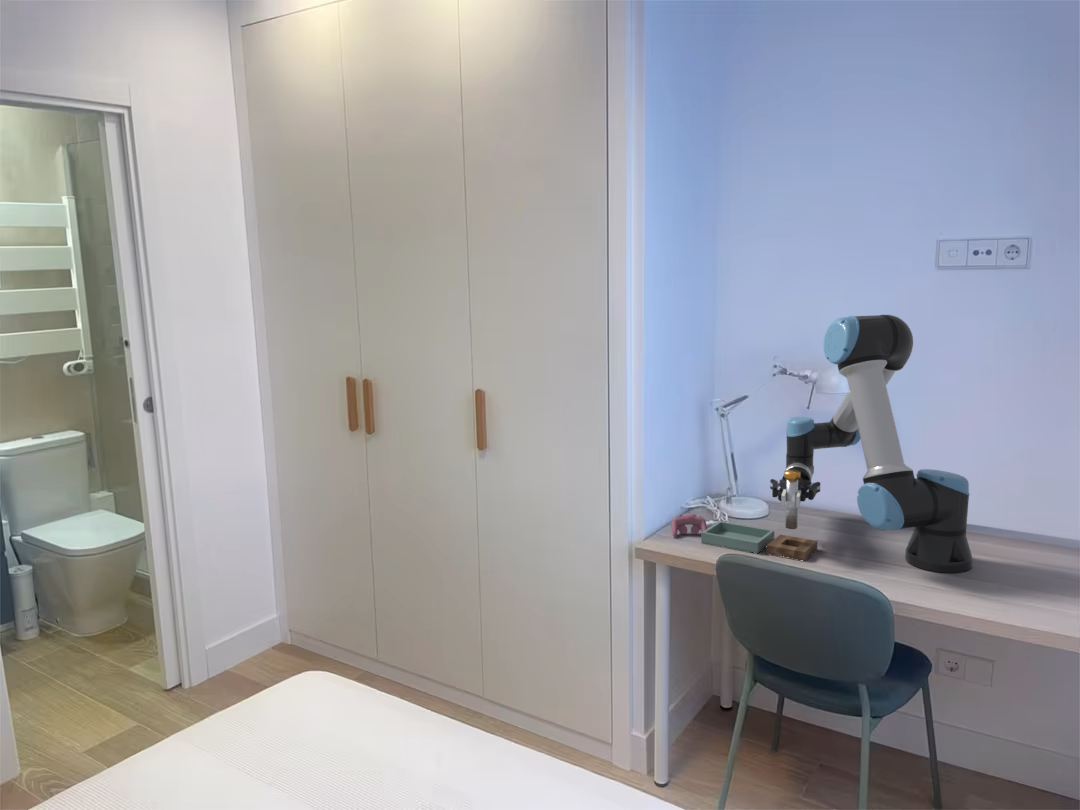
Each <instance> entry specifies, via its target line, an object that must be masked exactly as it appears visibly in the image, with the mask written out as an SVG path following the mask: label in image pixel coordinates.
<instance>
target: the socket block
mask: <svg viewBox="0 0 1080 810" xmlns="http://www.w3.org/2000/svg"><path fill="white" fill-rule="evenodd" d="M817 551H818V540H814V539H808V538H803V537H798V536H797V537H796V536H791V535H786V534H779V535H777V536H776V537H774V540H773V541H771V542H770V543H769V544H767V547H766V553H767V554H771V555H770V556H773V555H776V556H775V557H778V556H782V557H781V558H783V556H784V557H789V558H793V559H798V560H797V561H799V560H803V561H802V562H804V561H805V560H806V559H807V558H808V559H809V558H810V557H812V555H814V554H815V553H816V552H817ZM766 553H765V554H766ZM767 554H766V555H767ZM793 559H792V560H793ZM808 559H807V560H808ZM807 560H806V561H807ZM806 561H805V562H806Z"/></svg>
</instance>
